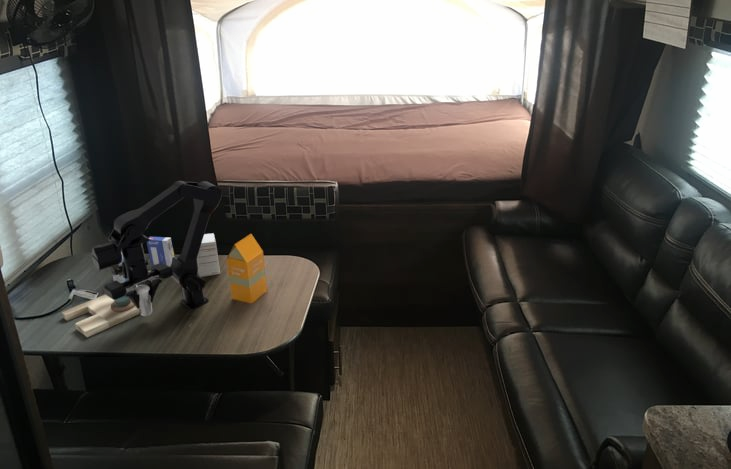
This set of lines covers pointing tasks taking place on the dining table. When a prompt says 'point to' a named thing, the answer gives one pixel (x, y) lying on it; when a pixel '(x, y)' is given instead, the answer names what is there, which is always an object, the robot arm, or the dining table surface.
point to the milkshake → (144, 299)
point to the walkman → (160, 250)
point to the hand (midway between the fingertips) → (144, 305)
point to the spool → (122, 304)
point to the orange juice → (247, 270)
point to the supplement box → (208, 257)
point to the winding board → (98, 315)
